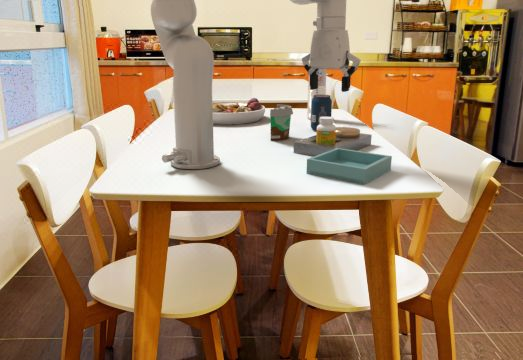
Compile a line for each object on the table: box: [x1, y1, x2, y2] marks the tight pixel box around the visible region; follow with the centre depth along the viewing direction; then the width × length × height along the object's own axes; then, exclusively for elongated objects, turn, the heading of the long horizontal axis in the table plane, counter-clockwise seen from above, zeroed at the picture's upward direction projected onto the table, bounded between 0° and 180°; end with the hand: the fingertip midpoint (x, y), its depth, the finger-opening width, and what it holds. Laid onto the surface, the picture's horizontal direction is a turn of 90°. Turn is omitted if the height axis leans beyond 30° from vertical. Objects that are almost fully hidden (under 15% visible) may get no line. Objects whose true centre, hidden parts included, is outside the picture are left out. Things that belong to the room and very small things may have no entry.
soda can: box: [310, 94, 333, 133], centre depth 166 cm, size 7×7×12 cm
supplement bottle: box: [316, 116, 337, 145], centre depth 136 cm, size 5×5×10 cm
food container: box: [269, 103, 294, 142], centre depth 153 cm, size 12×6×10 cm, turn 168°
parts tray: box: [306, 148, 393, 185], centre depth 116 cm, size 15×15×4 cm
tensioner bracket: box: [293, 126, 373, 157], centre depth 140 cm, size 23×13×4 cm, turn 143°
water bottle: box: [306, 69, 327, 121], centre depth 186 cm, size 7×7×25 cm
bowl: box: [212, 97, 266, 126], centre depth 188 cm, size 30×30×8 cm
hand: (329, 90), depth 132 cm, fingers open, 9 cm apart
